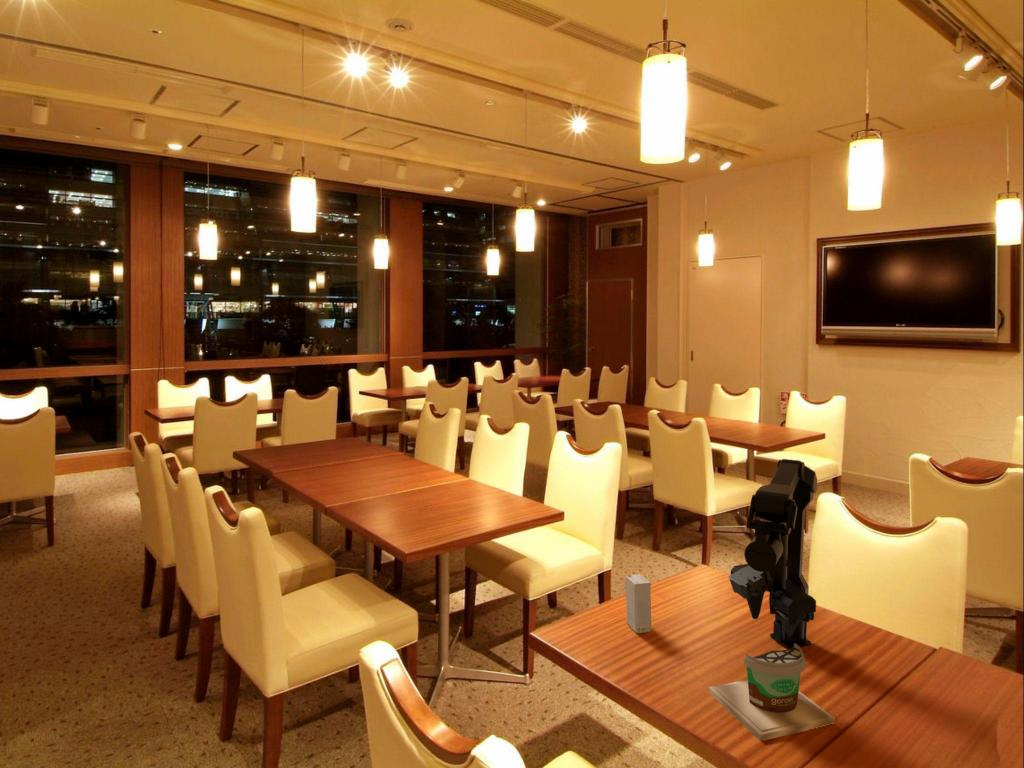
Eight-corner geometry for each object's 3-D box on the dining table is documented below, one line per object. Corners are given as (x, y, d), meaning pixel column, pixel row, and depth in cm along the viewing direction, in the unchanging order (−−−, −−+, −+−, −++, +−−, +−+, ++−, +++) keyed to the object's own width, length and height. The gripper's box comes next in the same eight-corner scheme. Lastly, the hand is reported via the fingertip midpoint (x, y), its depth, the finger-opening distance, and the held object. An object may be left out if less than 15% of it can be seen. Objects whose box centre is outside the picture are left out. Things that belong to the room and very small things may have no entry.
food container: (764, 722, 121) (765, 670, 120) (742, 704, 127) (743, 654, 126) (819, 708, 125) (820, 657, 124) (795, 691, 131) (796, 642, 130)
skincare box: (652, 632, 159) (652, 582, 158) (634, 634, 158) (634, 584, 157) (641, 620, 165) (642, 573, 164) (624, 622, 164) (624, 574, 163)
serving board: (776, 683, 138) (776, 673, 138) (834, 728, 123) (834, 717, 123) (708, 696, 133) (708, 686, 133) (760, 745, 118) (760, 733, 118)
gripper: (708, 543, 138) (708, 615, 140) (768, 577, 120) (767, 659, 122) (754, 536, 141) (753, 606, 143) (819, 569, 124) (817, 648, 126)
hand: (770, 628), depth 134 cm, fingers open, 9 cm apart
